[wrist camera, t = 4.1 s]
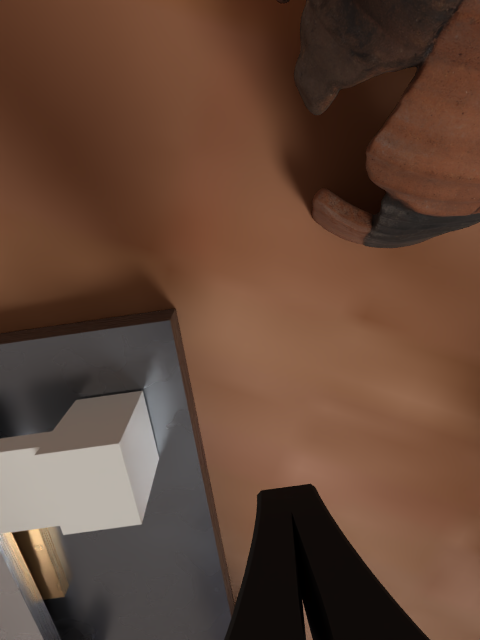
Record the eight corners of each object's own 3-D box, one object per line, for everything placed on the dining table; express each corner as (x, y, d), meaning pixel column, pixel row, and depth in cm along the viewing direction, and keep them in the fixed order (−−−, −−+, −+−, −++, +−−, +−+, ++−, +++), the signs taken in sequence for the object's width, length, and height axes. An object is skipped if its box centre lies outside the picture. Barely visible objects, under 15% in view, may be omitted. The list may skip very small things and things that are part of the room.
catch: (159, 458, 15) (141, 524, 12) (21, 477, 15) (-31, 547, 12) (142, 390, 14) (119, 443, 11) (-4, 411, 14) (-67, 468, 11)
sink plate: (237, 618, 20) (239, 716, 16) (-26, 652, 20) (-84, 757, 16) (175, 308, 15) (157, 346, 11) (-176, 358, 15) (-313, 413, 11)
